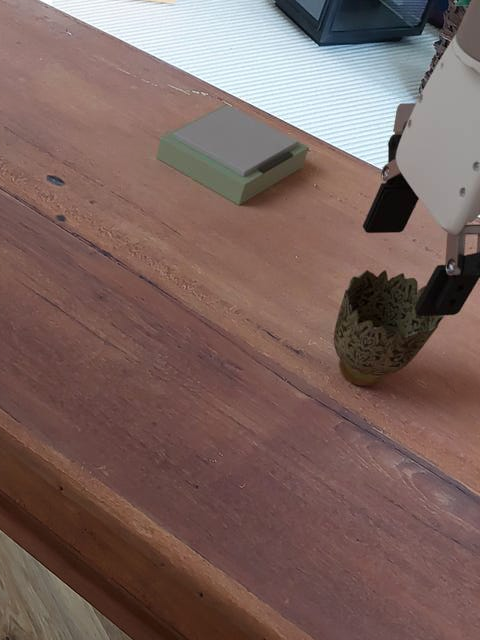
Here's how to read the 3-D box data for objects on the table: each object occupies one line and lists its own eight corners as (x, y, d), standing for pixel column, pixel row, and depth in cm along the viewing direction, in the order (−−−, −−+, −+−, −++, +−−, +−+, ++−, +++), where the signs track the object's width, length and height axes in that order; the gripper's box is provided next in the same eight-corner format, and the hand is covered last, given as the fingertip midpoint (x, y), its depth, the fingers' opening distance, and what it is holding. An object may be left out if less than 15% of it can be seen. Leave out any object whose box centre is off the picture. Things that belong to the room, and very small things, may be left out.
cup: (333, 331, 78) (367, 256, 71) (415, 368, 75) (458, 294, 69) (299, 379, 74) (332, 303, 67) (384, 419, 71) (426, 345, 65)
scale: (302, 167, 94) (311, 141, 92) (238, 205, 89) (246, 178, 87) (220, 124, 99) (227, 98, 97) (156, 158, 94) (161, 131, 92)
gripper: (669, 109, 48) (509, 347, 61) (515, -25, 59) (407, 202, 72) (541, 109, 47) (406, 351, 60) (409, -27, 58) (319, 203, 71)
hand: (407, 269), depth 66 cm, fingers open, 9 cm apart
